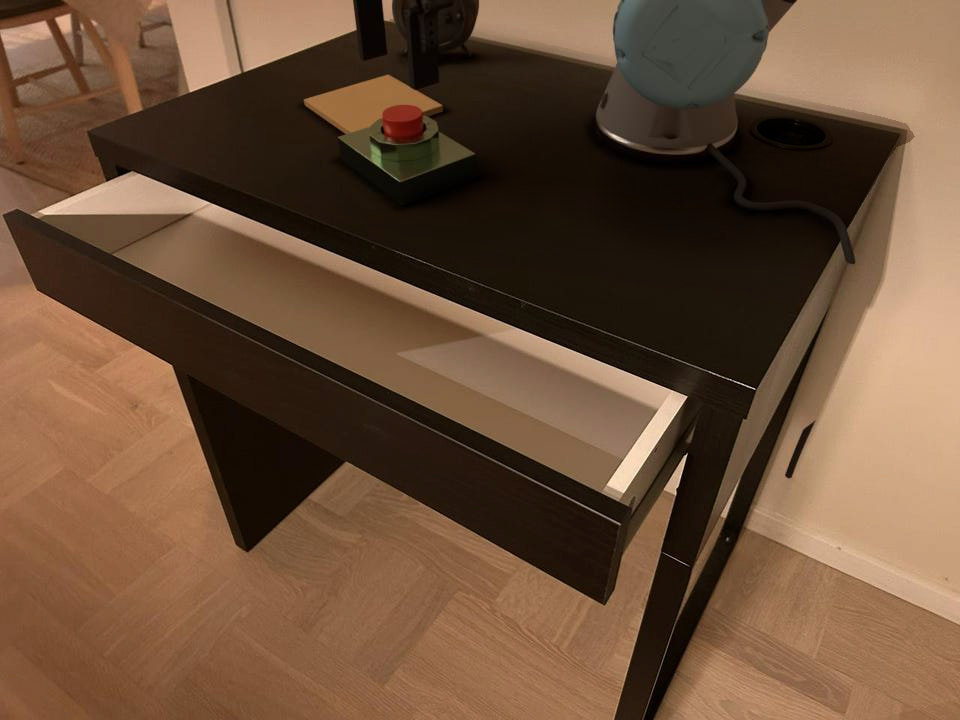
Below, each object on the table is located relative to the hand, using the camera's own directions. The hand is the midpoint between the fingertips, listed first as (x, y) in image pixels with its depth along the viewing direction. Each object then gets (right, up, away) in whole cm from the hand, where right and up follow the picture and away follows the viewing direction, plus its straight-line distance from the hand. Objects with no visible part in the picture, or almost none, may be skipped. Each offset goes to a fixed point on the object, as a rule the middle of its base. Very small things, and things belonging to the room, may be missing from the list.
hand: (398, 70), depth 71 cm
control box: (0, -8, +7) cm, 10 cm away
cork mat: (-5, +2, +18) cm, 19 cm away
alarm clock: (+2, +13, +30) cm, 32 cm away
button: (0, -5, +4) cm, 6 cm away
